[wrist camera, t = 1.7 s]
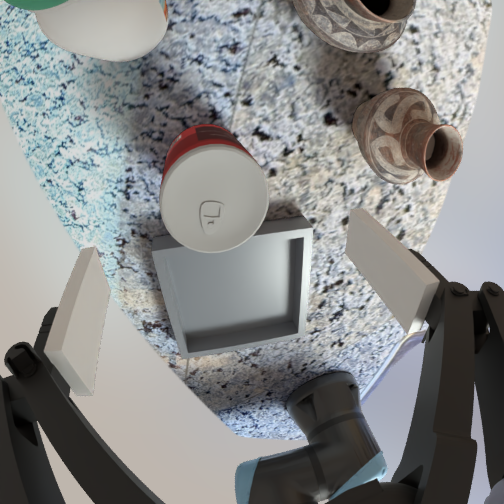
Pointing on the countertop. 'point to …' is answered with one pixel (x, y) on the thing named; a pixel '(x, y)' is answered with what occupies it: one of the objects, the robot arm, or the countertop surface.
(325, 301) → the countertop surface
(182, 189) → the canned food
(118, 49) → the milk bottle
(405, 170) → the pottery
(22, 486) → the robot arm
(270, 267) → the tray
